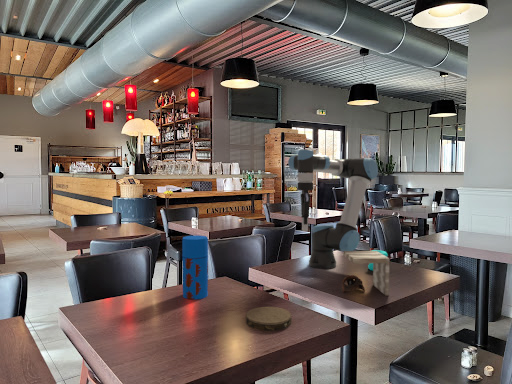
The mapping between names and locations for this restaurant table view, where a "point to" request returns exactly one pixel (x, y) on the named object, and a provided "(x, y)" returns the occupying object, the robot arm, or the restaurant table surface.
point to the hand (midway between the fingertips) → (304, 230)
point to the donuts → (379, 252)
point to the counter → (379, 267)
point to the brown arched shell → (352, 283)
